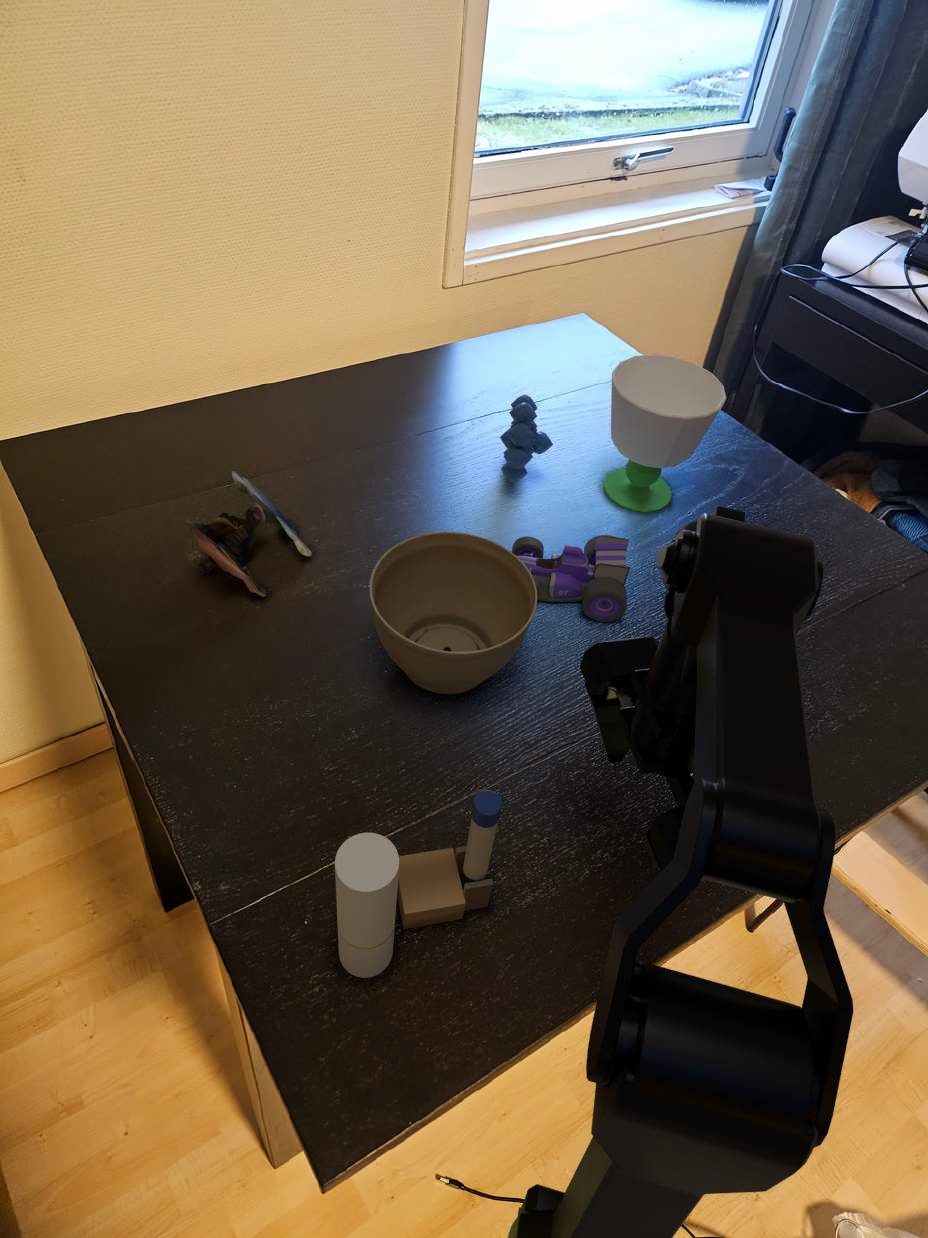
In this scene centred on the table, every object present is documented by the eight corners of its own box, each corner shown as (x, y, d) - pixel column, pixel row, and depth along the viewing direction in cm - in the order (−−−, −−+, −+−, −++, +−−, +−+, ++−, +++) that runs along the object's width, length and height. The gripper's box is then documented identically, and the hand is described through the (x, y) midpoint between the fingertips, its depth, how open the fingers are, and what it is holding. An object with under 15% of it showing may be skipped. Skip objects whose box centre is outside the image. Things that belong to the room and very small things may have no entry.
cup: (672, 458, 118) (706, 354, 106) (702, 524, 109) (743, 418, 97) (575, 458, 116) (600, 352, 104) (598, 525, 107) (627, 417, 95)
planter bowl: (339, 685, 86) (337, 611, 78) (411, 586, 97) (416, 512, 89) (485, 748, 83) (498, 677, 75) (543, 637, 93) (561, 565, 85)
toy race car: (495, 549, 102) (502, 507, 97) (620, 567, 102) (633, 526, 97) (488, 606, 95) (494, 563, 91) (621, 625, 95) (635, 584, 91)
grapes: (543, 510, 108) (559, 430, 99) (490, 503, 108) (502, 422, 99) (547, 456, 116) (562, 377, 107) (497, 449, 116) (509, 370, 107)
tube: (368, 989, 66) (369, 904, 55) (327, 954, 68) (321, 865, 57) (403, 946, 69) (412, 857, 58) (363, 914, 70) (364, 821, 59)
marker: (505, 812, 62) (477, 817, 61) (490, 878, 70) (465, 883, 69) (498, 788, 63) (470, 792, 63) (484, 855, 71) (459, 859, 71)
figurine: (311, 556, 105) (231, 486, 102) (343, 519, 98) (258, 444, 96) (241, 633, 94) (150, 556, 92) (272, 597, 88) (175, 514, 86)
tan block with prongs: (489, 914, 71) (495, 891, 68) (403, 930, 70) (405, 907, 67) (475, 859, 74) (481, 835, 71) (393, 873, 73) (394, 849, 70)
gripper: (881, 791, 50) (784, 907, 61) (742, 571, 62) (683, 702, 74) (708, 820, 48) (641, 935, 59) (599, 585, 60) (561, 718, 71)
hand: (634, 810), depth 66 cm, fingers open, 9 cm apart
